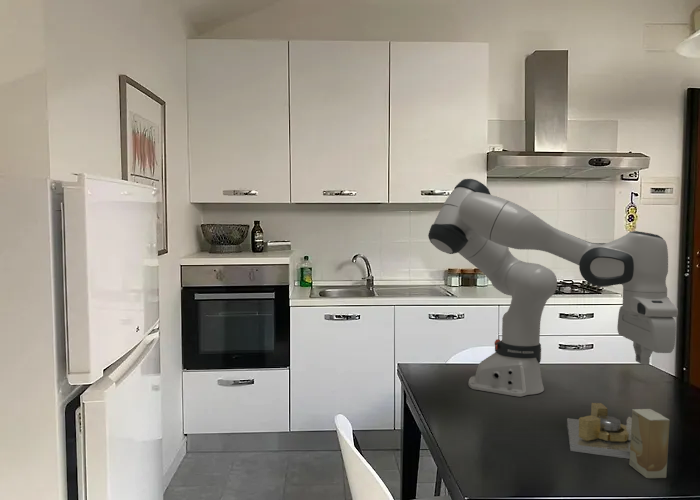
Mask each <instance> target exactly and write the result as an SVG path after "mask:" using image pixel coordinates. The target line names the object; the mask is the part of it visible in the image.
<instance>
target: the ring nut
mask: <svg viewBox="0 0 700 500" xmlns="http://www.w3.org/2000/svg"><path fill="white" fill-rule="evenodd" d="M590 407H591V410H590V415H586V416H581V417H579V418H578V419H579V437H580V438H582V439H584V440H586V441H589V440H593V439H598V438H599V439H603V440H606V441H608V440H609V441H627V440H631V426H632V416H628V417H627V418H626V424H623V423H620V432H621V433H608V432H604V431H601V430H600V421H601V419H600V418H598V416H608V415H609V414H608V407H606V406H605V405H604V404H603V403H601V402H591V405H590ZM625 425H627V426H625Z"/></svg>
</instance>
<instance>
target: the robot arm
mask: <svg viewBox="0 0 700 500" xmlns="http://www.w3.org/2000/svg"><path fill="white" fill-rule="evenodd" d="M427 236H428V239H429V242H430V243H431V245H432V246H434V247H435V248H436V249H437V250H439V252H443V253H446V254H448V255H454V254H459V255H460V256H462V257H463V258H464V259H465V260H467V262H469V263H470V264H471V265H473V266H474V267H475V268H476V269H478V270H479V271H480V272H482V274H483V275H485V277H486V278H487V279H488V280H489V281H490V283H491V285H492V286H493V288H495V289H496V290H497V291H498V292H500V293H502V294H504V295H507V296H510V297H511V300H510V305H509V306H508V309H507V311H506V312H504V314H503V316H502V321H501V322H502V325H501V326H502V327H501V339H495V341H494V353H492V354H491V355H489V356H487V357H486V358H484V359H483V360H481V361H480V363H479V364H478V366H477V367H476V372H475V375H472V376H471V377H469V380H468V384H467V385H468V387H469V388H470V389H472V390H475V391H476V390H477V391H483V392H488V393H495V394H500V395H505V396H513V397H519V398H520V397H524V396H529V395H537V394H541V393H543V392H544V391H545V388H544V385H543V384H544V383H543V379H542V373H541V365H540V363H541V361H542V344H541V343H540V335H541V320H542V319H541V318H542V314H543V312H544V308H545V305H546V303H547V301H548V300H549V299H550V298H551V297H552V296H553V295H554V294H555V293H556V290H557V287H558V278H557V276H556V274H555V273H554V271H553V270H552V269H550V268H547V267H546V266H544V265H541V264H540V263H534V262H526V261H523V260H520V259H518V258H517V257H515V255H513V253H512V252H511V251H510V250H509V249H510V248H511V249H514V250H528V251H529V250H534V251H540V252H545V253H549V254H552V255H554V256H556V257H559V258H561V259H563V260H566V261H568V262H570V263H573V264H575V265H577V266H578V267H579V272H580V275H581V277H582V278H583V280H585V281H586V282H587V283H588V284H590V285H592V286H596V287H600V288H605V287H606V288H607V287H612V286H617V285H622V305H621V306H620V307H619V311H618V316H617V329H616V330H617V333H618V335H620V337H623V338H625V339H628V340H629V341H631V342H633V343H632V344H633V345H632V346H633V350H634V353H635V361H636V362H637V363H639V364H640V365H641V366H649V365H650V360H651V359H650V358H651V357H652V354H653V352H654V353H656V354H671V353H672V352H673V351H674V349H675V346H676V345H675V344H676V333H677V326H676V325H677V323H676V320H675V318H677V317H678V315H679V309H678V307H677V306H676V304H674V303H673V301H671V299H670V298H669V297H668V288H667V287H668V286H667V284H666V283H667V276H668V274H669V251H668V250H669V249H668V244H667V242H666V240H665V239H664V238H663V237H662V236H660V235H659V234H654V233H651V232H645V231H644V232H643V231H638V230H632V231H629V232H627V233H626V234H625V235H623V236H620V237H619V238H617V239H615V240H611V241H609V242H601V243H600V242H591V241H588V240H585V239H582V238H580V237H576V236H574V235H572V234H570V233H567V232H565V231H562V230H560V229H558V228H556V227H553V226H552V225H550V224H549V223H547V222H546V221H545V220H543V219H542V218H540V217H539V216H537V215H535V214H534V213H533V212H531V211H529V210H528V209H526V208H525V207H523V206H521V205H519V204H517V203H515V202H512V201H510V200H509V199H506V198H502V197H500V196H497V195H492V193H491V192H490V190H489V188H488V186H486V185H485V184H484V183H482V182H481V181H479V180H477V179H474V178H463V179H462V180H460V181H459V182H458V183H457V184H456V185H455V187H454V190H453V191H452V192H451V193H450V195H448V197H446V199H445V201H444V203H443V204H442V207H441V209H440V210H439V212H438V214H437V215H436V218H435V220H434V222H433V224H431V226H430V227H429V232H428V235H427Z"/></svg>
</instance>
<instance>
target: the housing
mask: <svg viewBox="0 0 700 500" xmlns="http://www.w3.org/2000/svg"><path fill="white" fill-rule="evenodd" d="M598 418H600V419H601V421H600V430H601V431H604V432H608V433H621V432H620V424H621V423H622V422H621V420H620V419H619V418H617V417H616V416H615V417H614V416H610V415H607V416H598ZM624 425H625V426H627V424H624ZM566 427H567V428H566V429H567V434H568V441H569V442H568V443H569V449H570V452H577V453H583V454H589V455H590V454H591V455H599V456H606V457H611V458H612V457H614V458H620V459H628V460H630V445H631V440H627V441H609V440H608V441H606V440H603V439H599V438H598V439H593V440H589V441H586V440H584V439H582V438H580V437H579V418H578V419H577V418H569V417H567V419H566Z"/></svg>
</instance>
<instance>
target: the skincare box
mask: <svg viewBox="0 0 700 500" xmlns="http://www.w3.org/2000/svg"><path fill="white" fill-rule="evenodd" d="M631 410H632V415H631V417H632V426H631V445H630V459H629V463H628V464H629V465H630V467H631V468H633V469H634V470H635V471H636V472H638V473H639V474H641V475H642V476H643V477H644V478H646V479H666V478H667V471H668V470H667V468H668V455H669V454H668V453H669V440H670V439H669V435H670V421H671V420H670V419H669V418H667V417H666V416H664V415H662V414H661V413H660V412H657V411H655V410H653V409H652V408H635V409H633V408H632V409H631Z"/></svg>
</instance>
